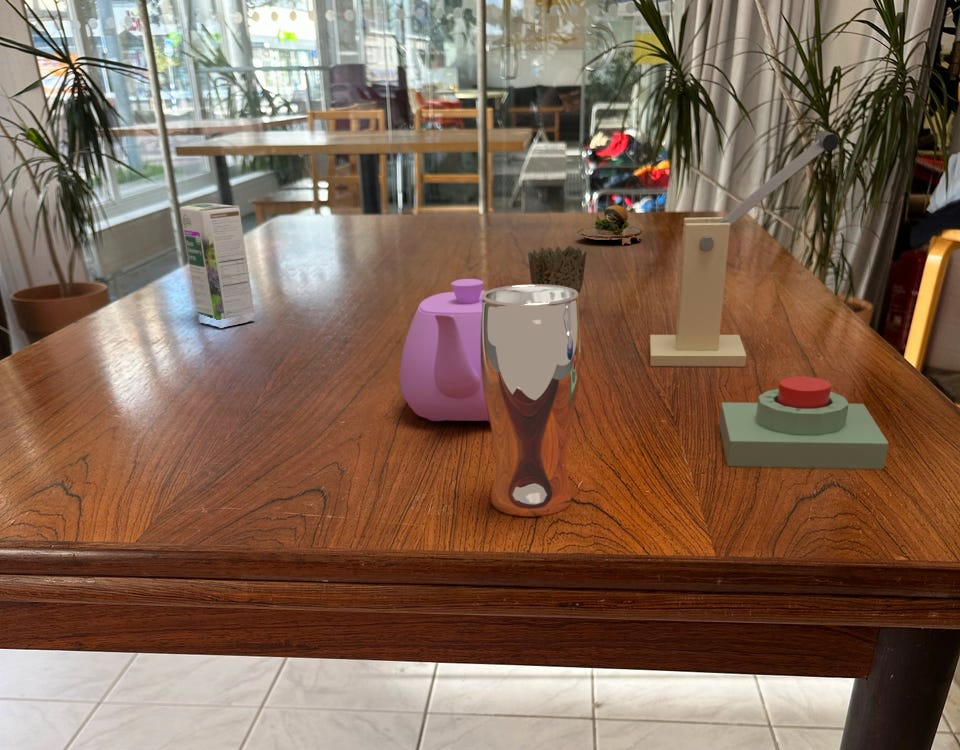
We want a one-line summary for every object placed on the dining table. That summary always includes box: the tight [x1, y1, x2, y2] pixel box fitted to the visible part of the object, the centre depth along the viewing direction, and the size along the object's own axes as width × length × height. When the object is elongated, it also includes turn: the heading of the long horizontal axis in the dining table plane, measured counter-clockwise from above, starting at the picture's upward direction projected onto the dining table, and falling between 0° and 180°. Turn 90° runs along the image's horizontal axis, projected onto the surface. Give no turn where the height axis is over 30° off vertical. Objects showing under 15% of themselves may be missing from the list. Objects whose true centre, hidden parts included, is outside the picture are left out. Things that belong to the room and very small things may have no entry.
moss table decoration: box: [577, 197, 643, 239], centre depth 172 cm, size 12×12×8 cm
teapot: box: [399, 278, 490, 423], centre depth 87 cm, size 20×13×12 cm, turn 170°
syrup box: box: [179, 202, 255, 320], centre depth 123 cm, size 6×6×14 cm
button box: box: [718, 388, 890, 470], centre depth 78 cm, size 12×10×4 cm
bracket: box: [649, 216, 747, 368], centre depth 101 cm, size 10×9×14 cm
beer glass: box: [480, 283, 582, 518], centre depth 67 cm, size 7×7×15 cm
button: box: [777, 376, 832, 409], centre depth 77 cm, size 4×4×2 cm
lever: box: [705, 130, 839, 227], centre depth 95 cm, size 16×5×2 cm
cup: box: [527, 245, 588, 294], centre depth 122 cm, size 8×7×8 cm
